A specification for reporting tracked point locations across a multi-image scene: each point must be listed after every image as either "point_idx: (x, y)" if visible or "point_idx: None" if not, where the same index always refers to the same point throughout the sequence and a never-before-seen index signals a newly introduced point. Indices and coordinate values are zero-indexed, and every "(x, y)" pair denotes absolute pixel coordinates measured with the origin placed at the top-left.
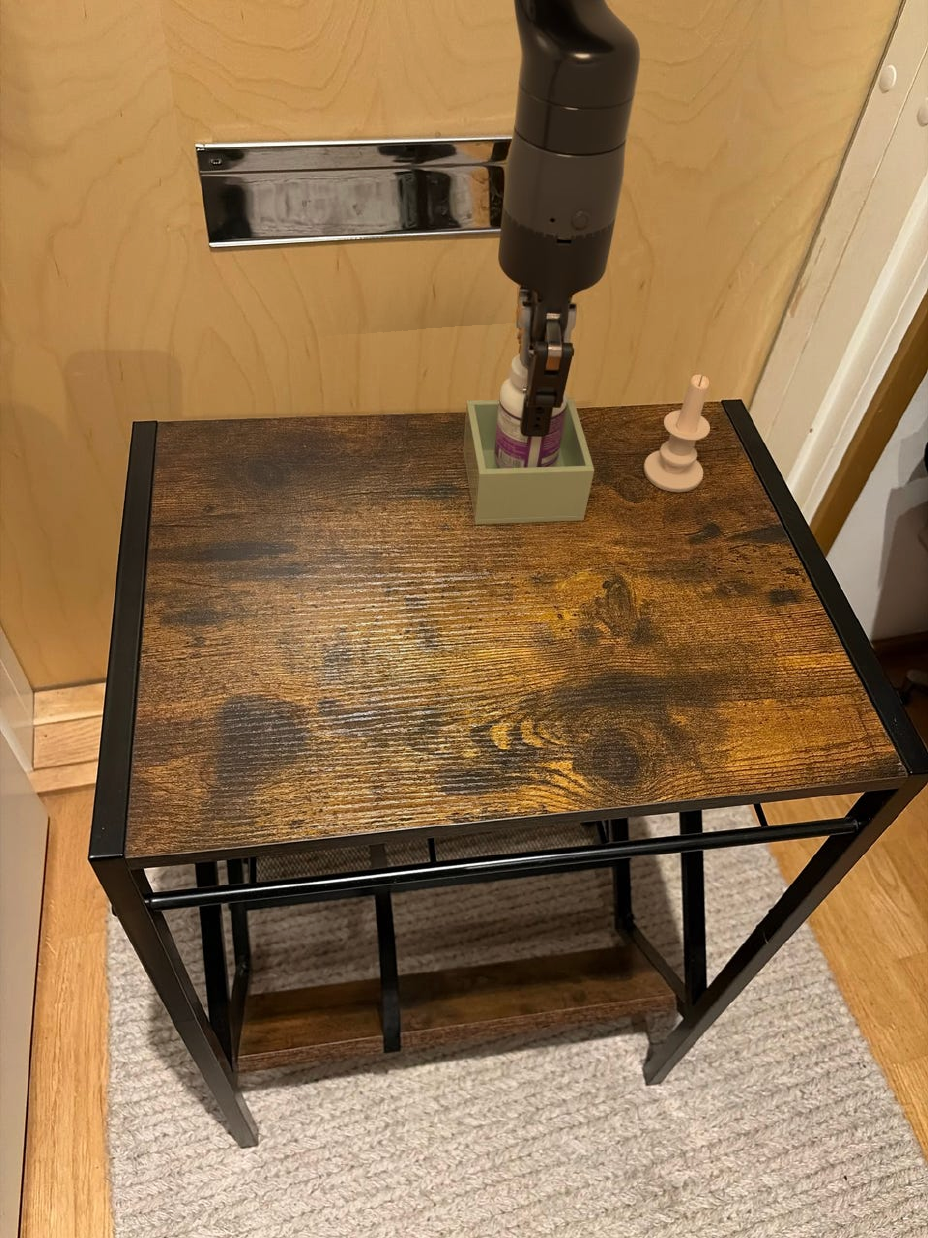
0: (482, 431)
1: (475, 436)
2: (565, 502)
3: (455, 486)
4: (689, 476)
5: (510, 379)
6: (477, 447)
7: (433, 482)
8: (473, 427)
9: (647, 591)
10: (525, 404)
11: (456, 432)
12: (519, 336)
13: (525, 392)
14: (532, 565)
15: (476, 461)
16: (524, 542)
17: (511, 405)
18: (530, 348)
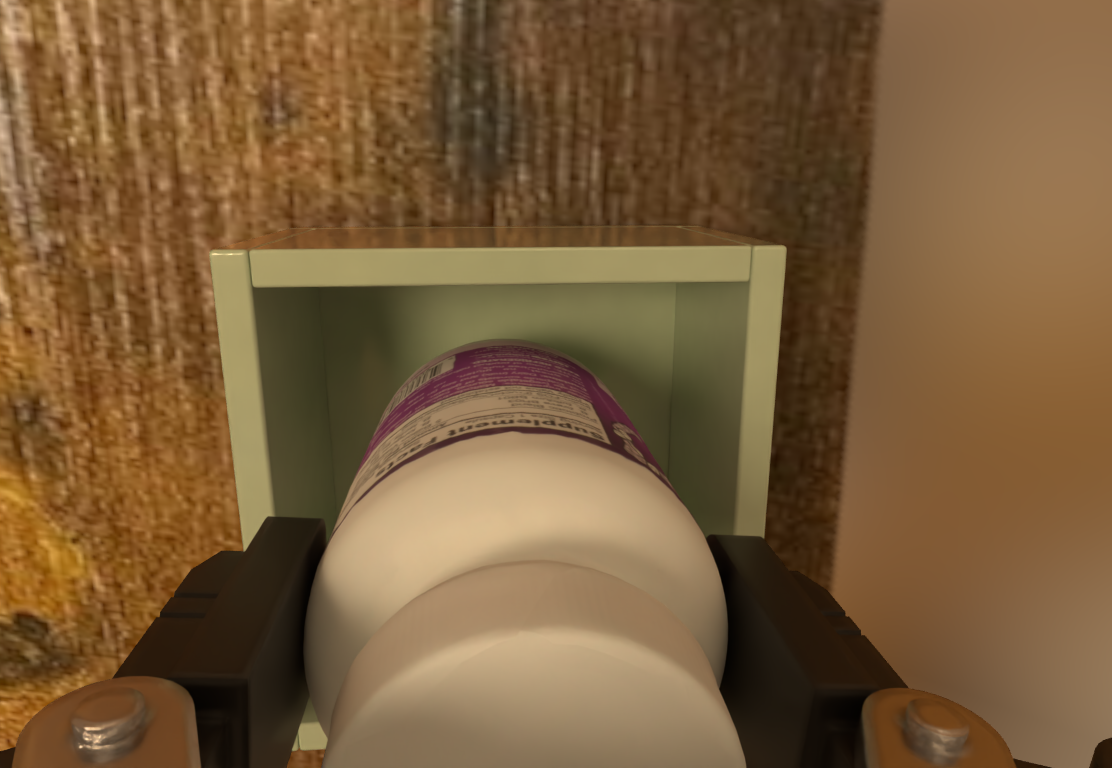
0: (700, 307)
1: (500, 260)
2: None
3: (505, 175)
4: None
5: (609, 541)
6: (416, 261)
7: (531, 88)
8: (570, 258)
9: (16, 734)
10: (192, 641)
11: (807, 212)
12: (917, 736)
13: (47, 731)
14: (98, 407)
15: (334, 246)
16: (212, 393)
17: (380, 510)
18: (817, 760)
